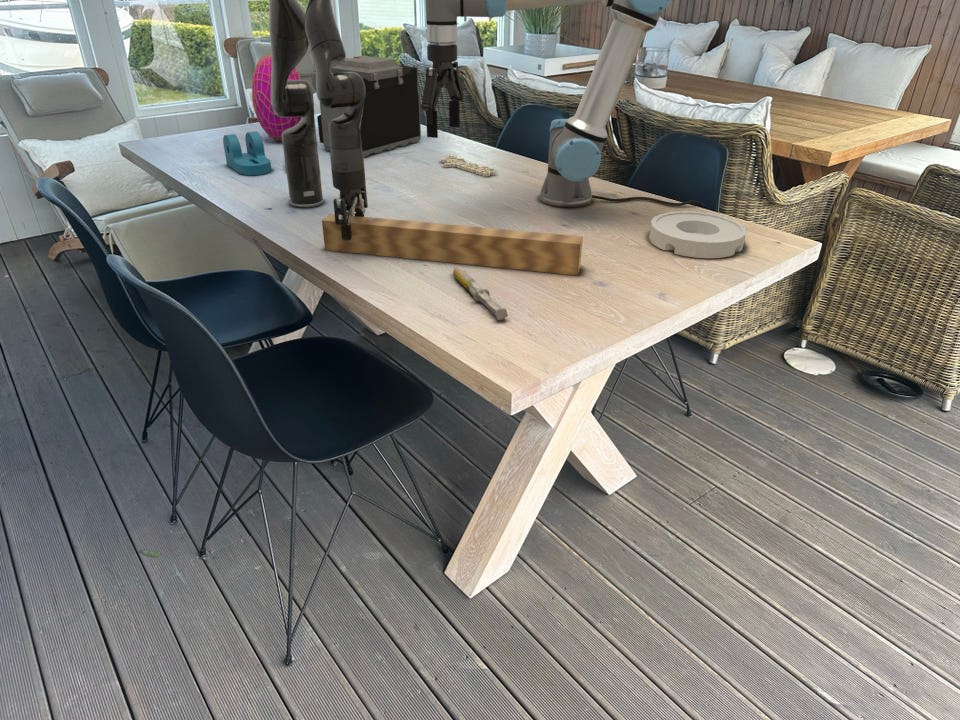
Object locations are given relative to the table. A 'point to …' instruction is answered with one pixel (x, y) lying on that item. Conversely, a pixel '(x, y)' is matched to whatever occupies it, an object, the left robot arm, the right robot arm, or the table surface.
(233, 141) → the camera mount
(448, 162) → the decorative sign
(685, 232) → the ashtray
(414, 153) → the table surface
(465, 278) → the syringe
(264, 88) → the decorative egg
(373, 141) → the cooler box
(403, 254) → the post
